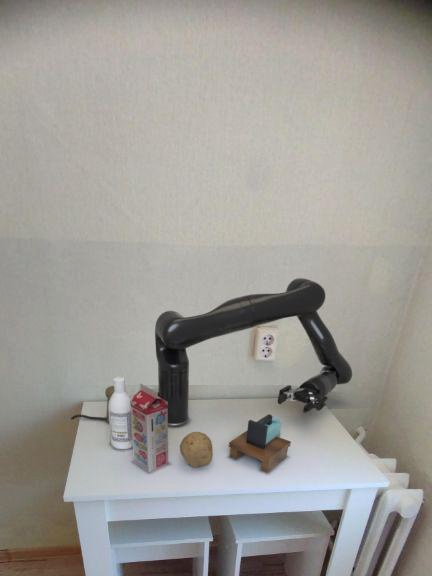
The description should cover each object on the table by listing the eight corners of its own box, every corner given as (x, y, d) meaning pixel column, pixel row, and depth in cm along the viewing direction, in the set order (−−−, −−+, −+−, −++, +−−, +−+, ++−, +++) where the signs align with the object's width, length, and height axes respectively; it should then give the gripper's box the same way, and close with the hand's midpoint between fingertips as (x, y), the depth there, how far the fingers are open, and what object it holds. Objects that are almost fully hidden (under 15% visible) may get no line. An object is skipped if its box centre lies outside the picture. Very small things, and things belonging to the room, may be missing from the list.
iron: (267, 427, 137) (270, 405, 133) (284, 433, 134) (288, 411, 130) (246, 442, 129) (248, 419, 124) (263, 449, 126) (266, 426, 122)
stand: (250, 441, 139) (252, 426, 136) (288, 456, 133) (290, 441, 130) (227, 457, 131) (229, 442, 128) (267, 474, 125) (269, 458, 122)
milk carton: (152, 453, 130) (150, 380, 118) (168, 463, 127) (167, 389, 114) (133, 462, 127) (129, 386, 114) (148, 472, 123) (146, 395, 110)
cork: (121, 425, 143) (119, 392, 137) (103, 423, 144) (100, 390, 138) (128, 417, 148) (126, 384, 142) (110, 414, 149) (108, 382, 142)
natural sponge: (181, 455, 131) (181, 423, 125) (212, 457, 131) (214, 425, 125) (178, 472, 123) (178, 440, 118) (211, 475, 123) (213, 442, 118)
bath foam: (137, 448, 133) (134, 382, 121) (113, 451, 130) (108, 385, 119) (132, 436, 138) (129, 372, 126) (109, 439, 136) (103, 375, 124)
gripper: (297, 372, 150) (272, 387, 139) (338, 383, 144) (315, 400, 133) (294, 393, 154) (269, 409, 143) (333, 405, 148) (311, 424, 137)
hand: (291, 405), depth 138 cm, fingers open, 8 cm apart
